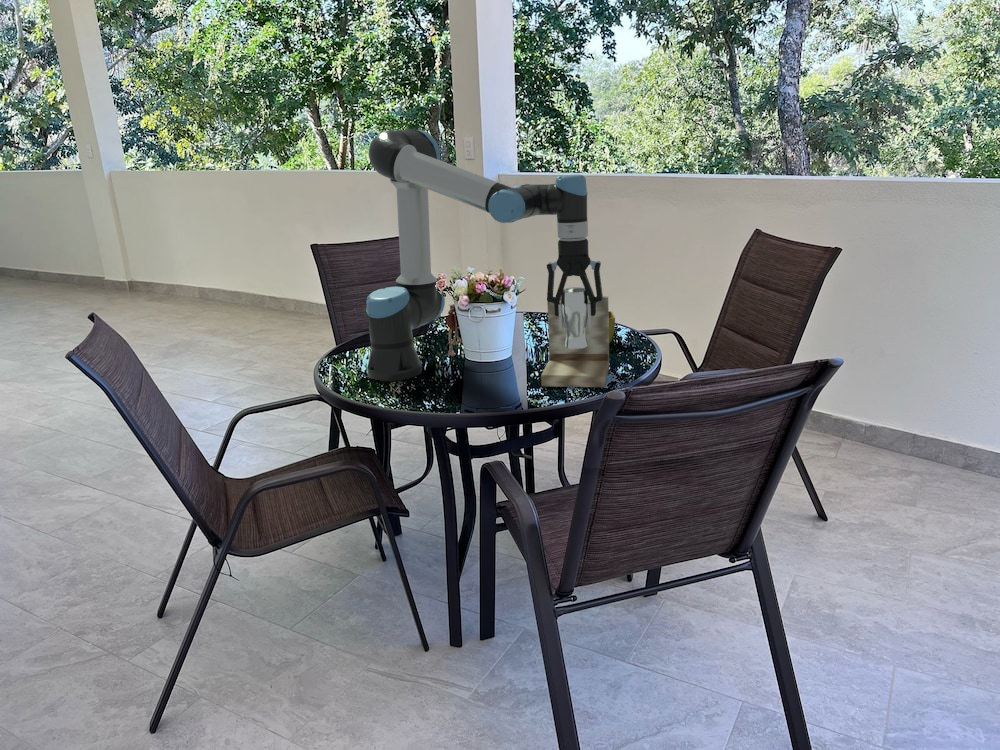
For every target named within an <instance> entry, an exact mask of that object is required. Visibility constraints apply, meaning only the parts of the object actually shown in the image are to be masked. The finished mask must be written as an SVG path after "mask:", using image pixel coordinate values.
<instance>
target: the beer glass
mask: <svg viewBox="0 0 1000 750" xmlns="http://www.w3.org/2000/svg"><path fill="white" fill-rule="evenodd" d="M587 304H588V295H587V293H586V290H585V288H584V287H580V286H579V287H577V286H576V287H567V288H566V287H565V288H564V289H563V291H562V294H561V307H562V317H563V322H564V326H565V332H566V338H565V348H567V349H583V348H586V347H588V342H587V338H586V326H587V319H588V309H587Z"/></svg>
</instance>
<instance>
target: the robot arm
mask: <svg viewBox="0 0 1000 750" xmlns="http://www.w3.org/2000/svg"><path fill="white" fill-rule="evenodd" d="M368 159H369V163H370V165H371V166H372V167H373V169H374V170H375V171H376V172H377V173H378V174H379V175H381V176H383V177H385V178H387V179H390V183H391V184H392V185H393V186H394V187H395V188H396V203H397V205H396V207H397V222H398V223H397V225H398V226H397V227H398V243H399V245H398V246H399V247H398V248H399V260H400V265H399V266H400V275H398V277H397V278H396V279H395V286H389V287H385V288H379V289H377V290H374V291H372V292H370V294H369V295H368V296H367V298H366V308H365V310H366V311H365V312H366V314H367V315H366V316H367V323H368V333H369V341H370V352H369V353H370V354H369V358H368V362H367V367H366V369H367V377H368V379H370V378H372V379H375V380H374V381H376V380H380V381H379V382H397V381H404V380H409V379H412V378H415V377H417V376H419V375H421V374H422V372H423V368H422V366H423V365H422V362H421V360H420V357H419V355H418V353H417V350H416V348H415V346H414V339H413V337H414V336H413V330H416V329H418V328H420V327H422V326H425V325H429V324H431V323H432V322H434V321H435V320H436V319H438V318H440V317H441V315H442V313H443V311H444V308H445V303H446V301H445V300H446V299H445V294H444V293H443V294H440V293H439V292H438V291H436V290H437V289H436V287H435V285H436V282H437V281H438V279H437V277H436V276H435V275H434V274H432V263H431V261H432V260H431V259H432V258H431V236H430V212H429V211H430V210H429V209H430V205H429V191H432V192H435V193H438V194H440V195H442V196H445V197H448V198H450V199H453V200H456V201H458V202H460V203H463V204H466V205H468V206H471V207H473V208H475V209H478V210H481V211H483V212H486V213H489V214H490V216H491V217H492V219H494V220H495V221H496V222H498V223H503V224H506V223H507V224H511V223H515V222H517V221H520V220H522V219H528V218H531V217H535V216H548V215H549V216H555V215H556V218H557V219H556V221H557V224H556V225H557V237H558V238H559V240H558V241H557V249H558V258H557V260H556V261H553V262H551V261H549V262H548V263H547V264H546V269H547V272H548V277H547V291H546V292H547V293H546V295H547V296H546V301H548V302H552V303H554V309H555V316H559V329H563V327H564V322H563V317H562V307H561V302H560V299H561V294H562V291H563V289H565V286H566V283H567V280H568V277H573V276H575V277H579V278H580V280H581V282H582V284H583V285H582V286H583V288H585V290H586V293H587V295H588V298H589V300H590V302H588V304H587V309H588V329H591V328H592V316H595V314H596V302H599V301H601V300H602V298H603V296H604V295H603V288H602V281H601V272H600V271H601V265H602V262H601V261H600V260H597V261H594V260H591V258H590V256H589V240H588V239H587V237H588V236H589V223H588V221H589V220H588V189H587V179H586V176H584V175H583V174H563V175H558V176H556V177H555V183H550V184H529V183H526V184H520V185H518V184H517V185H515V186H514V187H511V186H509V185H505V184H502V183H500V182H499V181H495V180H492V179H490V178H487V177H484V176H482V175H479V174H477V173H474V172H472V171H469V170H467V169H464V168H461V167H458V166H456V165H453V164H450V163H448V162H445V161H443V160H440V159H441V153H440V147H439V145H438V143H437V141H436V139H435V137H433V136H432V135H431V134H430V133H428V132H427V131H425V130H421V129H415V128H414V129H413V128H411V129H410V128H409V129H395V130H394V129H393V130H391V129H390V130H384V131H382V132H381V131H380V133H378V134H377V135H375V137H373V139H372V141H371V142H370V144H369V148H368ZM557 266H558V268H559V269H560V270H561V272H562V275H561V279H560V281H559V285H558V288H557V291H556V294H555V296H554V287H555V271H556V270H557ZM589 266H590V267H591V270H593V277H594V286H595V293H596V297H595V293H594V290H593V289H592V285H591V283H590V281H589V279H588V275H587V273H586V270H587V269H588V267H589ZM437 283H438V282H437ZM443 295H444V296H443ZM372 379H371V380H372Z"/></svg>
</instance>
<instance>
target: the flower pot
mask: <svg viewBox="0 0 1000 750" xmlns="http://www.w3.org/2000/svg"><path fill="white" fill-rule="evenodd" d="M615 325H616V316H615V314H614V313H613V311H612V310H609V344H610V343H611V342H612V339H613V336H614V334H615V333H614V332H615Z"/></svg>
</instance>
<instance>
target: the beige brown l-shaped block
mask: <svg viewBox="0 0 1000 750" xmlns="http://www.w3.org/2000/svg"><path fill="white" fill-rule="evenodd" d="M594 296H595V295H594ZM596 296H597V295H596ZM596 296H595V297H596ZM546 301H547V300H546ZM560 302H561V299H560ZM588 302H590V300H589V298H588ZM546 305H547V324H548V325H547V326H548V327H547V328H548V351H549V353H548V362H547V364H546V365H545V367H544V369H543V371H542V373H541V375H540V381H541V383H540V384H541V387H557V388H558V387H561V388H562V387H563V388H564V387H567V388H568V387H569V388H572V387H573V388H605V387H604V386H606V383H607V379H608V376H609V371H610V343H609V311H610V310H609V295H608V296H607V295H605V296H604V295H603V298H602V300H601V301H599V302H596V314H595V316H592V328H591V329H588V319H587V326H586V338H587V342H588V347H586V348H583V349H567V348H565V338H566V332H565V326H564V327H563V329H559V316H555V309H554V303H552V302H548V301H547V304H546Z"/></svg>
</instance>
